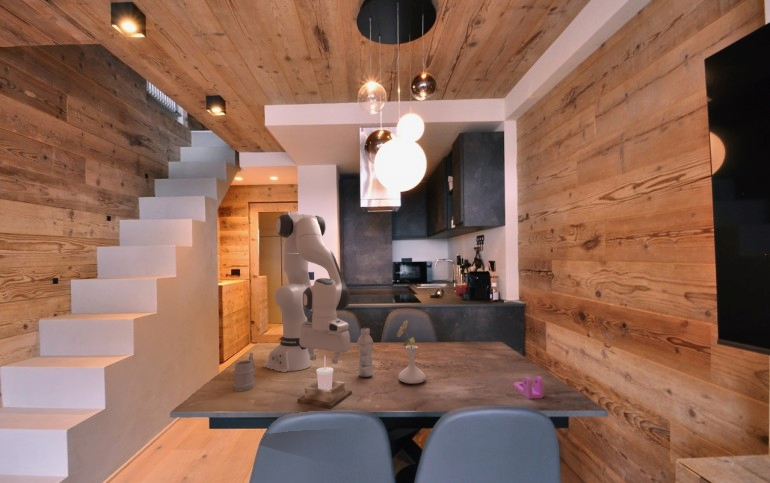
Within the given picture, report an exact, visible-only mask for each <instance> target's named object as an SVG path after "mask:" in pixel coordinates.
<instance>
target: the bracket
mask: <svg viewBox="0 0 770 483" xmlns="http://www.w3.org/2000/svg"><path fill="white" fill-rule="evenodd" d="M513 388H514V389H515V390H516V389H517V391H518V392H519V393H520V394H521V395H523V396H524V397H525V398H527V399H529V400H533V398H534V399H543V398H542V397H544V381H543V378H542V377H541V376H540V375H539V376H538V375H537V376H534V378H533V381H532V379H531V378H530V376H523V378H522V381H515V382H513Z"/></svg>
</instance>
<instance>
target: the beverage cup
mask: <svg viewBox="0 0 770 483" xmlns="http://www.w3.org/2000/svg"><path fill="white" fill-rule="evenodd" d="M323 361H324V362H323V363H324V365H323V367H319V368H317V369H316V371H315V372H316V374H317V375H316V376H317V377H316V378H317V381H318V389H323V390H328V391H329V390H330V389H332V380H333V374H334V368H333V367H330V366H327V365H326V362H327V359H326V355H324V356H323Z"/></svg>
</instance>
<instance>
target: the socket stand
mask: <svg viewBox="0 0 770 483" xmlns="http://www.w3.org/2000/svg"><path fill="white" fill-rule="evenodd" d="M352 394H353V390H348V389H346V382H345V381H340V380H334V379H332V389H330V390H329V391H328V390H323V389H318V380H316V381H315V382H312V383H311V384H309V385H308V386H306V387H304V395H302V396H301V397H299V398H297V400H296V401H297V403H301V404H306V405H312V406H317V407H321V408H326V409H332V408H335V407H336V406H337V405H338V404H340V403H341V402H343V401H344V400H345V399H347V398H348V397H349V396H351V395H352Z"/></svg>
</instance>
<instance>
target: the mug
mask: <svg viewBox="0 0 770 483" xmlns="http://www.w3.org/2000/svg"><path fill="white" fill-rule="evenodd" d="M253 353H254V352H250V353H249V355H248V360H247V359H246V360H239V361H237V362H235V365H234V371H233V374H234V378H233V379H234V380H233V383H232V384H233V385H232V387H233V390H234V391H235V390H236V392H245V391H249V389H250V390H251V388H252V389H253V388H254V385H255V380H254V376H255V374H256V373H255V369H256V368H255V367H256V366H255V360H254V357H253V356H254V354H253Z"/></svg>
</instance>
